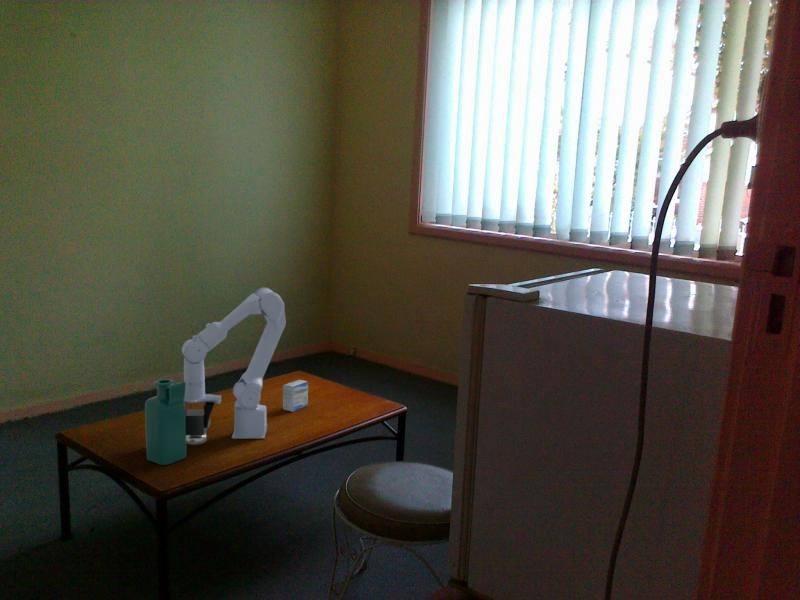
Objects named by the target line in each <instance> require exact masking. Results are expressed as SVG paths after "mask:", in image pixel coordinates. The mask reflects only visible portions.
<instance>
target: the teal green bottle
mask: <svg viewBox="0 0 800 600" xmlns="http://www.w3.org/2000/svg"><path fill="white" fill-rule="evenodd" d="M153 385H154V387H155V386H156V388H157V394H156V396H153V397H150V398H148V399H147V400H146V401H145V403H144V414H145V415H144V416H145V443H146V444H145V446H146V447H145V448H146V459H147V460H148V462H152V463H155V464H157V465H158V466H159V465H160V466H167V465H172V464H174V463H176V462H178V461H181V460H184V459H185V458H186V457H187V444H186V420H185V401H184V397H185V382H184V381H180V382H175V380H173V379H171V378H169V379H168V378H164V379H158V380H156V381H154V382H153Z"/></svg>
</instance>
